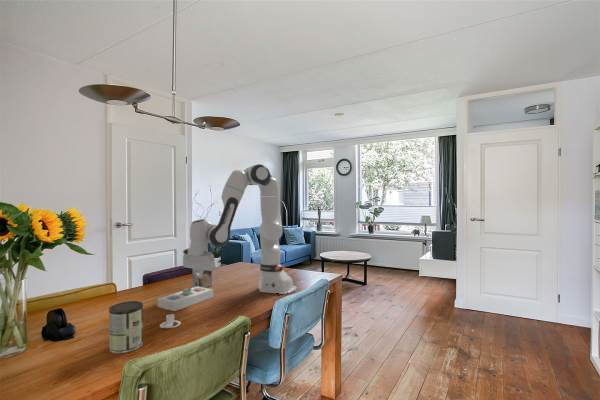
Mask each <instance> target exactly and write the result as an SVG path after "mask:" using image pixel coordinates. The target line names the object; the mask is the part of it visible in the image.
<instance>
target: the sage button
mask: <svg viewBox="0 0 600 400" xmlns="http://www.w3.org/2000/svg"><path fill="white" fill-rule="evenodd" d="M181 291H182V295H185V296H187V295H190V294H191V289H190V288H184V289H181Z"/></svg>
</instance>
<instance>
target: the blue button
mask: <svg viewBox="0 0 600 400" xmlns="http://www.w3.org/2000/svg"><path fill="white" fill-rule="evenodd" d="M178 298H179V296H171V297H169V299H170V300H175V299H178Z"/></svg>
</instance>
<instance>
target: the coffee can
mask: <svg viewBox="0 0 600 400" xmlns="http://www.w3.org/2000/svg"><path fill="white" fill-rule="evenodd" d="M143 306H144V303H143V302H142V301H138V300H137V301H134V300H130V301H123V302H119V303H116V304H113V305H111V306H109V307H108V313H109V315H108V316H109V319H108V320H109V322H108V324H109V325H108V326H109V328H108V329H109V331H108V332H109V335H108V336H109V339H108V340H109V348H108V349H109V352H110V353H112V354H125V353H130V352H133V351H135V350H138V349H139V348H141V347H142V346H143V345H144V344H143V343H144V342H143V340H144V339H143V337H144V336H143V333H144V332H143V331H144V329H143V319H144V318H143V317H144V316H143Z"/></svg>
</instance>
